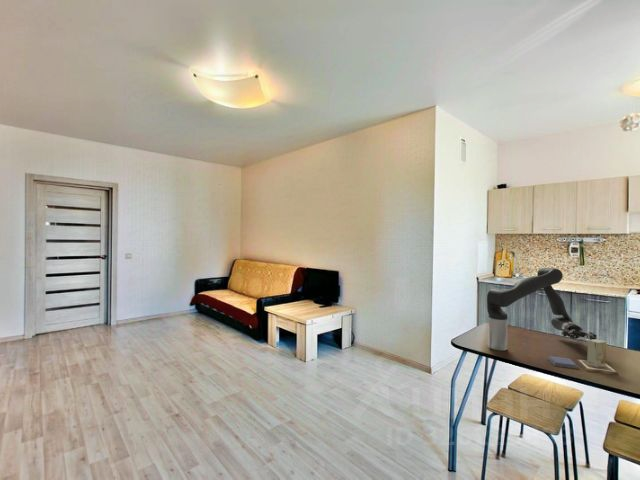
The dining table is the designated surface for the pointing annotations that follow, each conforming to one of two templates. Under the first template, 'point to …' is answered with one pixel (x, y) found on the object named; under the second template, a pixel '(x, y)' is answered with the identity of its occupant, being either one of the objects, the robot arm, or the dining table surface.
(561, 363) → the ink pad
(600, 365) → the skincare box
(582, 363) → the marked board
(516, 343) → the dining table surface
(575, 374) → the dining table surface
